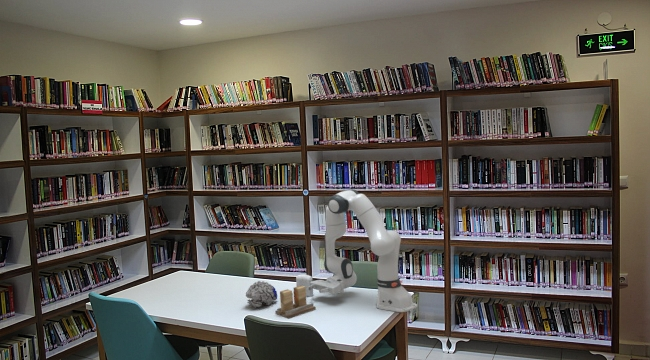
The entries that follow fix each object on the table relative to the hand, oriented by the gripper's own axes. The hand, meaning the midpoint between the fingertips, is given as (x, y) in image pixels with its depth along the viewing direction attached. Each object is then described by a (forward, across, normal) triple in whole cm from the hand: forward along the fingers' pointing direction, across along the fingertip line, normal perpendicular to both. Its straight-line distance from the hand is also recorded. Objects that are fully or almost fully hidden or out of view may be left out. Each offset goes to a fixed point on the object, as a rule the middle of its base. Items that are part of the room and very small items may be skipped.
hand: (314, 289), depth 286 cm
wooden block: (+10, 0, +7) cm, 12 cm away
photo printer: (-8, -19, +9) cm, 22 cm away
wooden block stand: (+14, 0, +8) cm, 16 cm away
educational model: (+19, -24, +9) cm, 32 cm away
